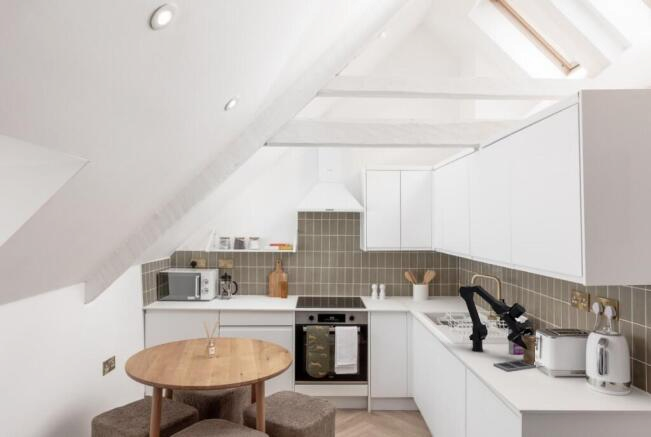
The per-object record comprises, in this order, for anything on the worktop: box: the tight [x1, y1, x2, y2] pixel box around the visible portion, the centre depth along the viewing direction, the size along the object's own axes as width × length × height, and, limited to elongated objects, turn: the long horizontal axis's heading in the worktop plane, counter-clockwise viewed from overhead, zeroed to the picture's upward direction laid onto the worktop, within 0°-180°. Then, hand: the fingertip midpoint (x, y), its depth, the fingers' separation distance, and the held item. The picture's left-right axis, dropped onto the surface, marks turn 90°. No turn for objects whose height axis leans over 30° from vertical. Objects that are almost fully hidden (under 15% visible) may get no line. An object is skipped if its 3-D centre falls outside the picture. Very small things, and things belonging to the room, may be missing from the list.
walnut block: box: [522, 335, 537, 365], centre depth 228 cm, size 5×5×15 cm
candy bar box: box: [507, 326, 530, 356], centre depth 249 cm, size 11×5×16 cm, turn 105°
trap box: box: [493, 359, 536, 373], centre depth 225 cm, size 25×10×2 cm, turn 111°
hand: (531, 347), depth 227 cm, fingers open, 9 cm apart
